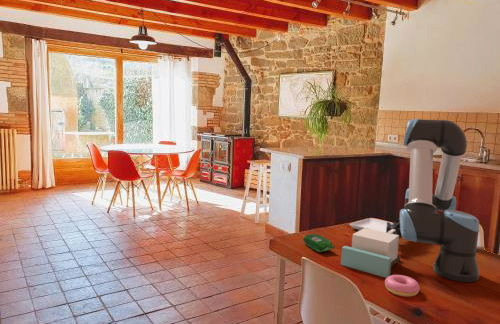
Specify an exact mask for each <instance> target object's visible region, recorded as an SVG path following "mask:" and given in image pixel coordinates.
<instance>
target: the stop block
mask: <svg viewBox="0 0 500 324" xmlns="http://www.w3.org/2000/svg"><path fill="white" fill-rule="evenodd" d="M340 258H341V259H340V265H341V266H343V267H346V268H350V269H354V270H357V271H361V272H365V273H369V274H371V275H375V276H378V277H382V278H385V279H386V278H387V277H389V276H391V269H392V268H391V257H387V256H383V255H379V254H375V253H372V252H368V251H364V250H360V249H356V248H352V246H348V245H344V246H342V247H341V256H340Z"/></svg>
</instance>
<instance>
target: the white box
mask: <svg viewBox="0 0 500 324" xmlns="http://www.w3.org/2000/svg"><path fill="white" fill-rule="evenodd" d="M399 239H400V235H395V234H390V233H386V232H381V231H377V230H372V229H367V228H363V229H362V230H357V231H356V232H354V233H353V234H352V238H351V240H352V241H351V247H352V248H356V249H360V250H364V251H368V252H372V253H375V254H379V255H383V256H387V257H391V262H392V261H394V260H395V259H396V258H397V255H399V254H398V253H399V251H398V250H399V241H400V240H399Z"/></svg>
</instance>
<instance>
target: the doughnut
mask: <svg viewBox="0 0 500 324" xmlns="http://www.w3.org/2000/svg"><path fill="white" fill-rule="evenodd" d="M384 285H385V288H386V290H387V291H389V292H390V293H392V294H393V295H396V296H400V297H407V298H409V297H414V296H416V295H418V294H419V292H420V290H421V287H420V284H419V283H418V281H417V280H416V279H414V278H413V277H410V276H407V275H403V274H392V275H391V274H390V276H389V277H387V278H385V280H384Z"/></svg>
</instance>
